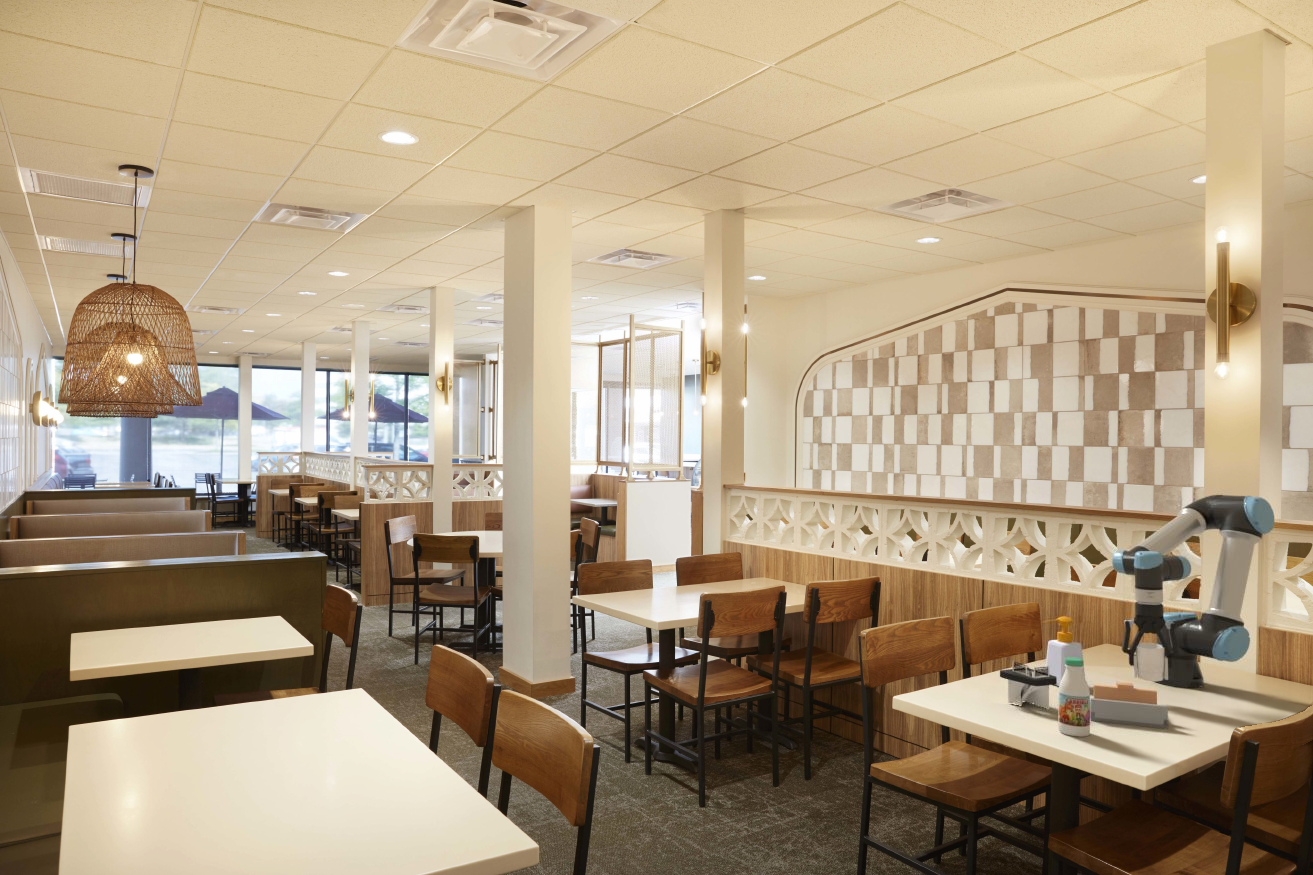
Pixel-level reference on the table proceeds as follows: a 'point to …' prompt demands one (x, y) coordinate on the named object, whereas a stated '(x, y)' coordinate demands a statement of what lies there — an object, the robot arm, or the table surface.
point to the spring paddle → (1125, 693)
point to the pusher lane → (1129, 713)
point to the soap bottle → (1062, 649)
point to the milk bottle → (1074, 700)
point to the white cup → (1150, 661)
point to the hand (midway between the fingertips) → (1150, 677)
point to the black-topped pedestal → (1028, 684)
